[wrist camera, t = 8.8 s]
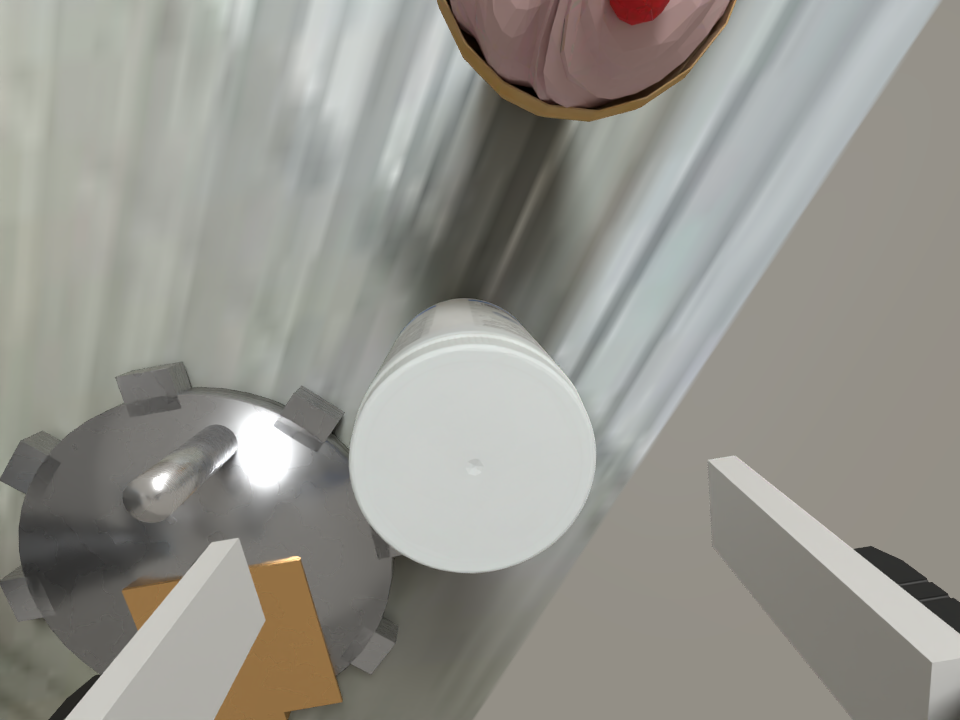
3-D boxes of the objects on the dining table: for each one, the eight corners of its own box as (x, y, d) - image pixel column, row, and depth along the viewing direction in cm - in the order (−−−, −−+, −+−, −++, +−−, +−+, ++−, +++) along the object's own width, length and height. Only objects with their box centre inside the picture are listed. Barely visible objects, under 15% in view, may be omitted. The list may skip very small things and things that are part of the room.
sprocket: (313, 757, 39) (273, 900, 30) (-42, 619, 34) (-201, 740, 26) (489, 483, 34) (500, 563, 25) (99, 280, 29) (-44, 297, 21)
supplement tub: (415, 450, 33) (382, 607, 19) (372, 317, 31) (299, 384, 17) (552, 414, 33) (623, 545, 19) (519, 277, 31) (571, 310, 17)
